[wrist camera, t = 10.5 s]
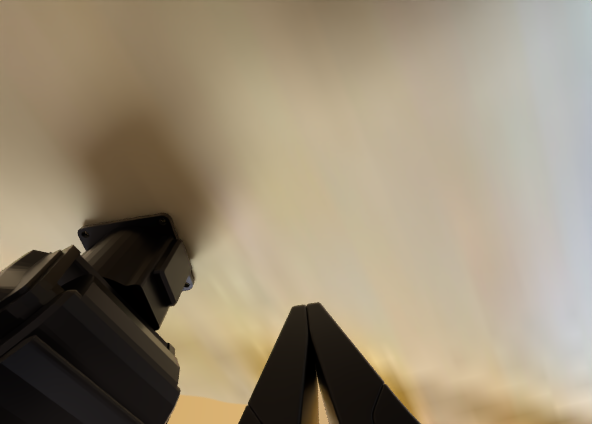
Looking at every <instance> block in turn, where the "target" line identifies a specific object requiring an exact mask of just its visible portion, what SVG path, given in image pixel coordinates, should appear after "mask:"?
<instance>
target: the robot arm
mask: <svg viewBox="0 0 592 424" xmlns="http://www.w3.org/2000/svg"><path fill="white" fill-rule="evenodd" d="M161 219H165V220H166V223H164V222H162V221H161ZM85 231H86V232H88V234H89V235H87V234H86V233H85ZM78 236H79V238H80V240H81V242H82V244H83V246H84V248H85V250H86V251H85V252H84V253H83V254H82V255H80V253H81V252H80V251H79V250H78V249H77V248H76V247H75V246H74V245H71V246H70V247H68V248H66V249H64V250H62V251H61V250H58V251H56V252H54V253H51V252H50V253H46V252H41V251H36V250H32V251H30V252H28V253H27V254H25V255H23V256H22V257H20V258H19V259H18V260H16V261H15V262H13V263H12V264H11V265H9V266H8V267H6V268H5V269H4V270H2V271H1V272H0V424H167V422H168V420H169V418H170V416H171V414H172V412H173V410H174V408H175V406H176V403H177V401H178V398H179V395H180V388H179V387H178V386H177V385H178V379H179V371H180V367H179V364H178V361H177V358H176V357H175V348H174V347H173V346H172V345H171V344H170V343H166V342H165V341H164V340H163V339H162V338H161V337H160V336H159V335H158V334H157V333H156V332H155V331H156V330H158V329H159V328H160V326H161V324H162V322H163V320H164V317H165V315H166V313H167V311H168V309H169V307H170V306H174V305H175V304H176V303H177V301H178V299H179V297H180V294H181V292H182V291H186V290H190V289H191V288H192V287H193V284H194V280H193V277H192V274H191V269H192V266H191V263H190V261H189V258H188V255H187V252H186V249H185V247H184V244H183V241H182V240H181V239H179V238H178V235H177V232H176V230H175V227H174V224H173V221H172V218H171V217H170V216H169V215H168V214H166V213H160V214H154V215H148V216H142V217H136V218H129V219H123V220H117V221H111V222H105V223H99V224H93V225H87V226H83V227H82V228H81V229H79V230H78ZM186 282H187V283H189V284H185V283H186ZM316 372H317V373H316ZM317 378H318V382H317ZM318 383H319V387H320V391H321V395H322V399H323V402H324V406H325V410H326V414H327V418H328V422H329V424H421V423H420V422H419V421H418V420H417V419H416V418H415V417H414V416H413V415H412V414H411V413H410V412H409V411H408V410H407V408H406V407H405V406H404V405H403V404H402V403H401V401H400V400H399V399H398V398H397V397H396V396H395V394H394V393H393V392H392V391H391V389H390V388H389V387H388V386H387V385H386V384H384V381H383V380H382V379H381V377H380V376H379V375H378V374H377V372H376V371H375V370H374V369H373V368H372V366H371V365H370V364H369V363H368V361H367V360H366V359H365V358H364V356H363V355H362V354H361V353H360V351H359V350H358V349H357V348H356V347H355V345H354V344H353V343H352V342H351V340H350V339H349V338H348V337H347V335H346V334H345V333H344V332H343V331H342V329H341V328H340V327H339V326H338V324H337V323H336V322H335V321H334V319H333V318H332V317H331V316H330V315H329V313H328V312H327V311H326V310H325V308H324V307H323V306H322V305H321V304H320V303H319V302H317V303H311V304H307V306H306V305H298V306H293V307H292V309H291V311H290V313H289V315H288V317H287V319H286V322H285V324H284V326H283V328H282V330H281V332H280V335H279V337H278V339H277V341H276V343H275V345H274V348H273V350H272V352H271V354H270V356H269V358H268V361H267V363H266V365H265V367H264V369H263V371H262V374H261V376H260V378H259V380H258V382H257V384H256V387H255V389H254V391H253V393H252V395H251V398H250V400H249V402H248V406H246V408H245V410H244V412H243V415H242V417H241V419H240V421H239V423H238V424H319V413H318Z"/></svg>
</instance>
